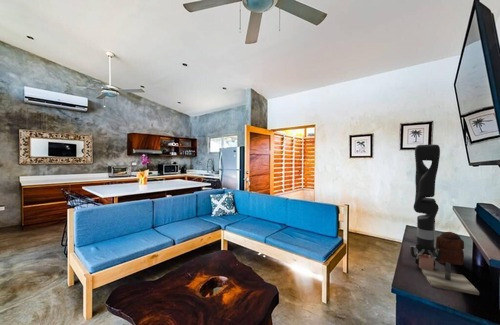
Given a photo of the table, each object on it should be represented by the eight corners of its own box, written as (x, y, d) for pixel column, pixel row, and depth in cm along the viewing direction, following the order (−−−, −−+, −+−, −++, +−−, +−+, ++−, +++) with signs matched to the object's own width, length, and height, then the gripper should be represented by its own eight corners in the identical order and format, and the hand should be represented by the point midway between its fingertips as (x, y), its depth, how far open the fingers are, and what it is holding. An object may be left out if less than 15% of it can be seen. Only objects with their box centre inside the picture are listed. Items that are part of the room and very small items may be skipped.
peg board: (421, 271, 115) (422, 254, 114) (462, 277, 108) (463, 259, 107) (431, 286, 102) (432, 267, 101) (479, 295, 95) (479, 274, 95)
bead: (416, 262, 123) (416, 252, 123) (429, 264, 121) (429, 254, 120) (419, 268, 117) (420, 257, 117) (433, 270, 115) (433, 259, 115)
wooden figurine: (456, 260, 124) (457, 230, 123) (465, 266, 118) (466, 235, 117) (433, 258, 127) (433, 229, 126) (440, 264, 121) (441, 233, 120)
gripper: (438, 235, 119) (438, 264, 119) (407, 232, 124) (407, 260, 125) (444, 241, 112) (443, 271, 113) (411, 237, 117) (411, 266, 118)
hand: (424, 265), depth 119 cm, fingers closed on bead, 6 cm apart
